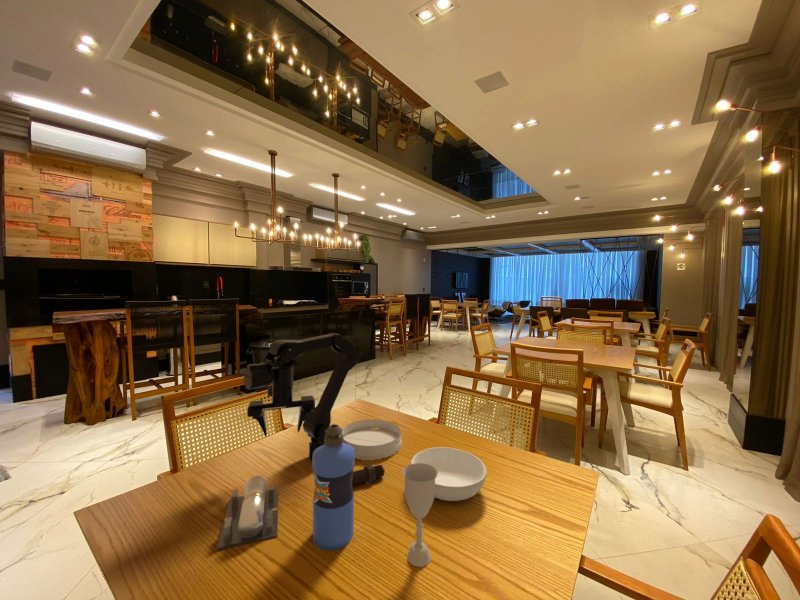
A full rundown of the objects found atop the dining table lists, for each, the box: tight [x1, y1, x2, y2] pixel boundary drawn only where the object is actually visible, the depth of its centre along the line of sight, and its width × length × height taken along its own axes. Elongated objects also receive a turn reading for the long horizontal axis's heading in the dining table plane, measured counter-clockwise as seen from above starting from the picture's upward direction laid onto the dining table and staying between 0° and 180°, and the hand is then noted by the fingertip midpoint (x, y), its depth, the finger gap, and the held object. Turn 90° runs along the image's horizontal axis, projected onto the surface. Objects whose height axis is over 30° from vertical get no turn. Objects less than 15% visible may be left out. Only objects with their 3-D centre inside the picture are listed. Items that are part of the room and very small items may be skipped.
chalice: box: [402, 463, 438, 568], centre depth 67 cm, size 7×7×18 cm
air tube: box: [238, 475, 267, 538], centre depth 79 cm, size 5×16×5 cm, turn 20°
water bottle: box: [311, 423, 356, 551], centre depth 73 cm, size 9×9×25 cm
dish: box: [341, 419, 402, 461], centre depth 116 cm, size 22×22×5 cm
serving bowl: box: [410, 446, 487, 502], centre depth 91 cm, size 21×21×7 cm
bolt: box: [352, 463, 386, 485], centre depth 93 cm, size 6×5×15 cm
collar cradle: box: [216, 482, 279, 551], centre depth 78 cm, size 12×17×4 cm
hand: (282, 433), depth 97 cm, fingers open, 9 cm apart
